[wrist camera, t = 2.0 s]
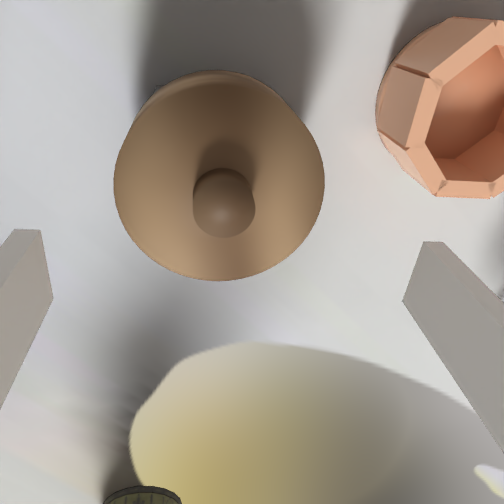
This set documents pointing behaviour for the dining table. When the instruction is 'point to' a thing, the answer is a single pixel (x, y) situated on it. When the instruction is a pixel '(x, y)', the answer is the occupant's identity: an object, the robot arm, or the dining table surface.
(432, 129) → the bowl
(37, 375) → the dining table surface
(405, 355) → the dining table surface
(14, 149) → the dining table surface
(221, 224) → the lid
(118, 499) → the thermos
